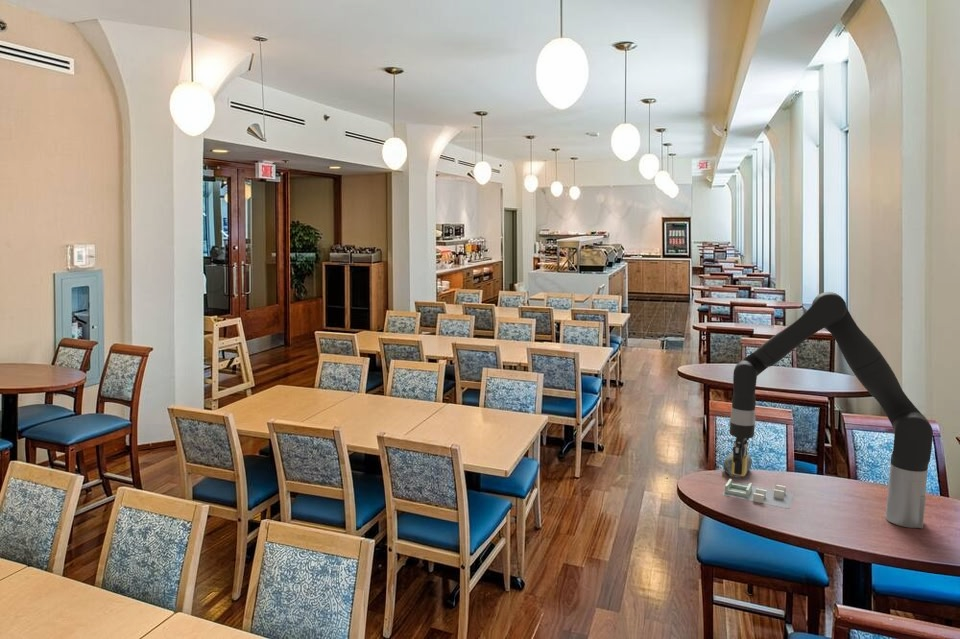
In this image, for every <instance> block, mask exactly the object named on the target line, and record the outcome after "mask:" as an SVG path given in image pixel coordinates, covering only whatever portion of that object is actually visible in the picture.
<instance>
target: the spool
mask: <svg viewBox="0 0 960 639" xmlns="http://www.w3.org/2000/svg"><path fill="white" fill-rule="evenodd" d="M747 455H748V458H747V472H748V471H749V470H750V468H751V467H752V464H753V458H752V457H751V455H750V454H749V453H748V452H747ZM732 456H733V450H732V451H731V452H729V454H727V456H726V457H725V458H724V460H723V464H722V465H723V466H722V467H723V470H724V471H725V472H726V474H728V476H730V477H732V478H737V479H738V478H743V477H744V476H740V475H734V474H731V472H732Z"/></svg>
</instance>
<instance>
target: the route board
mask: <svg viewBox="0 0 960 639" xmlns="http://www.w3.org/2000/svg"><path fill="white" fill-rule="evenodd" d="M732 483H733V484H738V485H743V486H748V485H749V484H747V483H742V482H736V481H732ZM756 488H758V489H763V490H766V498H764V502H763V503H762V504H763V505H768V506H773V507H778V508H783V509H788V510H789V509H790V508H791V506H792V505H791V504H792V502H793V499H794V497H795V493H791V492H787V491H786V494H784V499H780V498H775V497H773V494H774V489H773V488H766V487H763V486H757V485H752V491H751V493H750V494H749V496H748V497H744V496H739V495H734V494H730V493H725V490H724V491H723V492H722V494H721V496H726V497H731V498H734V499H740V500H744V501H750V502H754V503H759V504H761V503H760V502H756V501H753V494H754V493H756ZM729 490H734V491H739V492H744V493H746V490H744V489H739V488H734V487H731V488H730V489H729Z"/></svg>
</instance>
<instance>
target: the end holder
mask: <svg viewBox="0 0 960 639" xmlns="http://www.w3.org/2000/svg"><path fill="white" fill-rule="evenodd" d="M732 482H733V479H732V478H729V479H728V480H727V482H726V483H725V487H724V491H725V493H730V494H734V495H739V496H744V497H748V496H749V494H750V493H751V491H752V486H753V483H752V482H749V483H748V484H747V485H748V486H743V485H738V484H733V483H732ZM731 487H734V488H739V489H744V490H746V493H744V492H739V491H734V490H729V489H730V488H731Z"/></svg>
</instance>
